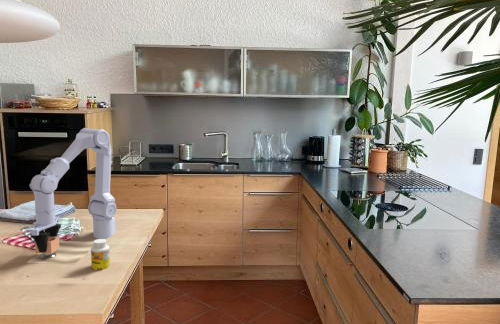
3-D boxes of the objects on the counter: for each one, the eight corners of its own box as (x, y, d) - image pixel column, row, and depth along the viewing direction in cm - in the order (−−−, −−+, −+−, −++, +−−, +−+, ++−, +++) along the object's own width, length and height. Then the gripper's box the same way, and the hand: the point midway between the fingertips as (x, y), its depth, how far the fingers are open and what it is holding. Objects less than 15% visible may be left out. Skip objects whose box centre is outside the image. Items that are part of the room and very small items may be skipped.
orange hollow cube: (44, 247, 136) (43, 234, 135) (59, 247, 136) (58, 235, 135) (35, 253, 130) (34, 240, 130) (51, 253, 130) (50, 240, 130)
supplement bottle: (88, 271, 126) (86, 241, 124) (102, 265, 130) (101, 236, 129) (99, 276, 123) (98, 245, 121) (113, 269, 128) (112, 239, 126)
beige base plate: (57, 244, 148) (56, 240, 147) (99, 245, 147) (98, 242, 147) (26, 267, 128) (26, 262, 128) (74, 268, 128) (74, 264, 127)
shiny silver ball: (44, 256, 136) (43, 243, 135) (59, 257, 136) (58, 243, 135) (36, 262, 131) (35, 248, 130) (51, 263, 131) (50, 249, 130)
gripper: (44, 204, 138) (47, 240, 140) (20, 216, 124) (23, 256, 126) (64, 204, 138) (66, 241, 140) (42, 216, 124) (45, 257, 126)
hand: (47, 248), depth 133 cm, fingers closed on orange hollow cube, 5 cm apart
